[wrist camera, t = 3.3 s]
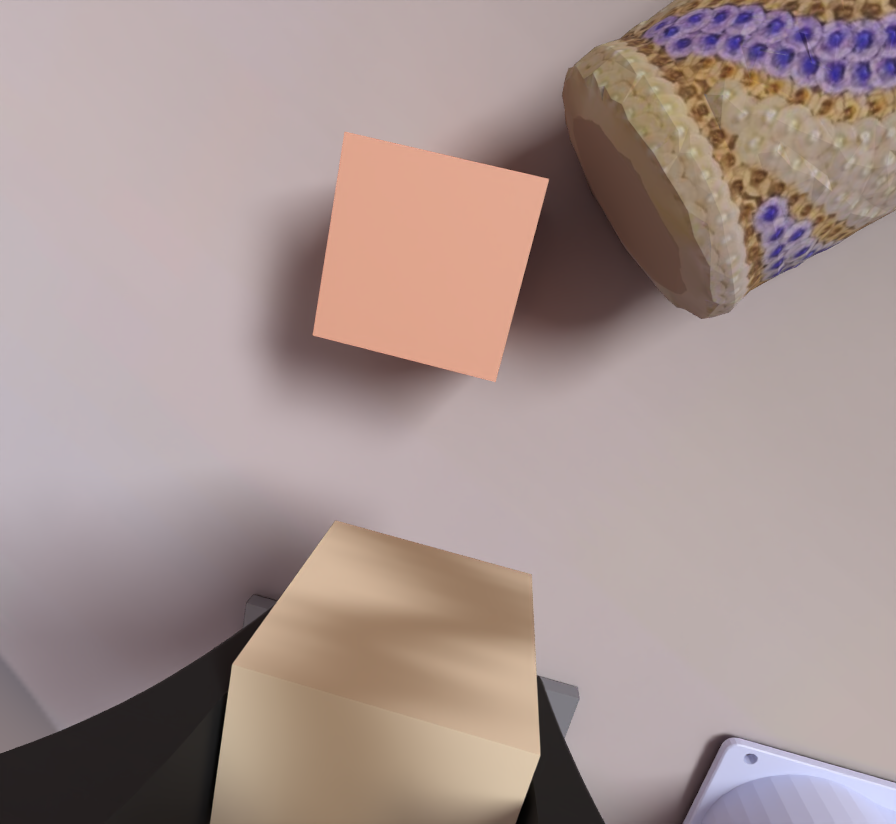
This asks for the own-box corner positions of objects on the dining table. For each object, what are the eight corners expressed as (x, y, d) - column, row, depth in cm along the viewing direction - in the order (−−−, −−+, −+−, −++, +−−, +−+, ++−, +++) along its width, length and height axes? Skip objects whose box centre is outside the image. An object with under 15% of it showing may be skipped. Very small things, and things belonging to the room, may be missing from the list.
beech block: (531, 574, 13) (540, 755, 8) (481, 731, 14) (463, 964, 10) (335, 520, 13) (231, 664, 8) (305, 679, 15) (202, 880, 10)
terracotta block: (540, 203, 17) (549, 178, 12) (500, 352, 19) (495, 382, 14) (391, 168, 17) (344, 131, 13) (364, 318, 19) (312, 335, 14)
